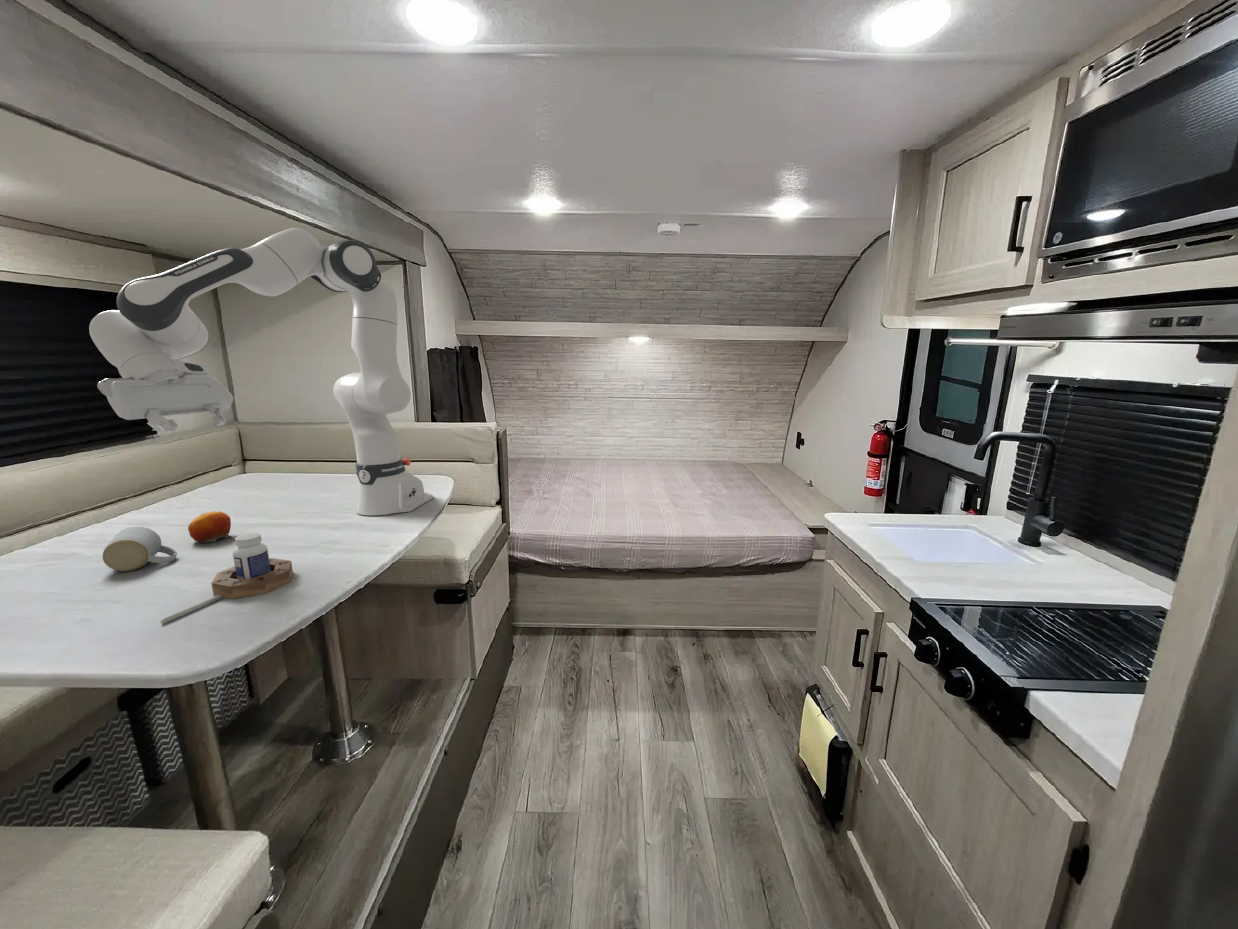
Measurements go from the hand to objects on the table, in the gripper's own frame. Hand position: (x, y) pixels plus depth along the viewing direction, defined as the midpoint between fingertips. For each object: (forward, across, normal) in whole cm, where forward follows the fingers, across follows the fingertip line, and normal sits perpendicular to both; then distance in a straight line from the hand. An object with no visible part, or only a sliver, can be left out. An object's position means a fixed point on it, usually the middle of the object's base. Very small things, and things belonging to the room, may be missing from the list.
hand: (198, 426), depth 102 cm
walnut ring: (+34, -7, +8) cm, 35 cm away
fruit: (+11, +8, +31) cm, 34 cm away
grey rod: (+34, -18, +8) cm, 39 cm away
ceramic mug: (+11, -7, +30) cm, 33 cm away
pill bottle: (+34, -7, +8) cm, 35 cm away
